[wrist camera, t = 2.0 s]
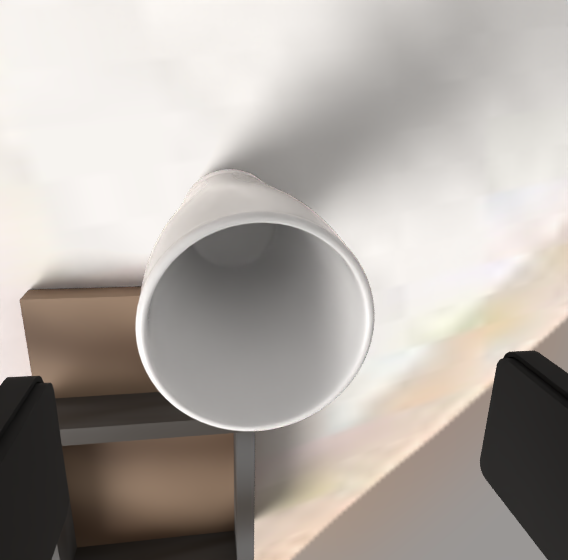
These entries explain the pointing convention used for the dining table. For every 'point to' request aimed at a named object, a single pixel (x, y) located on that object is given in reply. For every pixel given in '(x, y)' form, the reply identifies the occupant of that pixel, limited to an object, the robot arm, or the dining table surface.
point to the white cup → (251, 307)
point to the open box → (133, 441)
